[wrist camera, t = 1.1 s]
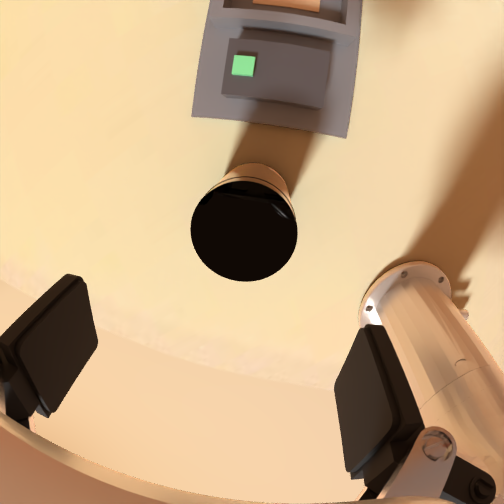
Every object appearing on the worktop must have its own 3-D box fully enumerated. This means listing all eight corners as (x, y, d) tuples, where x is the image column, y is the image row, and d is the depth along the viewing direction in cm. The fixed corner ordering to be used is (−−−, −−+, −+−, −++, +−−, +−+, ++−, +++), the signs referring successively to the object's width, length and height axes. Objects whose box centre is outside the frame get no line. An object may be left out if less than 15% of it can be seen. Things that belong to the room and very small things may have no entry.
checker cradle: (361, -42, 16) (372, -61, 11) (343, 138, 25) (357, 140, 20) (227, -60, 16) (220, -82, 11) (194, 117, 25) (179, 115, 20)
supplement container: (204, 200, 28) (170, 239, 19) (249, 146, 26) (235, 156, 16) (257, 242, 29) (250, 299, 20) (303, 193, 27) (320, 229, 18)
